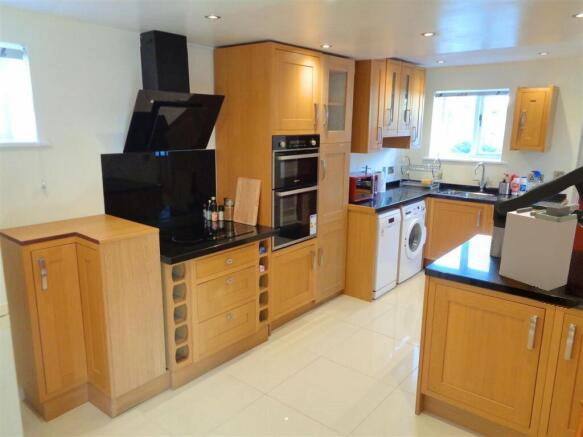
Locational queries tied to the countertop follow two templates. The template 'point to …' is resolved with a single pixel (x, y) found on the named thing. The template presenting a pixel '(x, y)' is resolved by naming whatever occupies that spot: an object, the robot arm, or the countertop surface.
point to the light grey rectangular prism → (561, 209)
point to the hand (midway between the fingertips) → (573, 206)
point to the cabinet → (537, 248)
